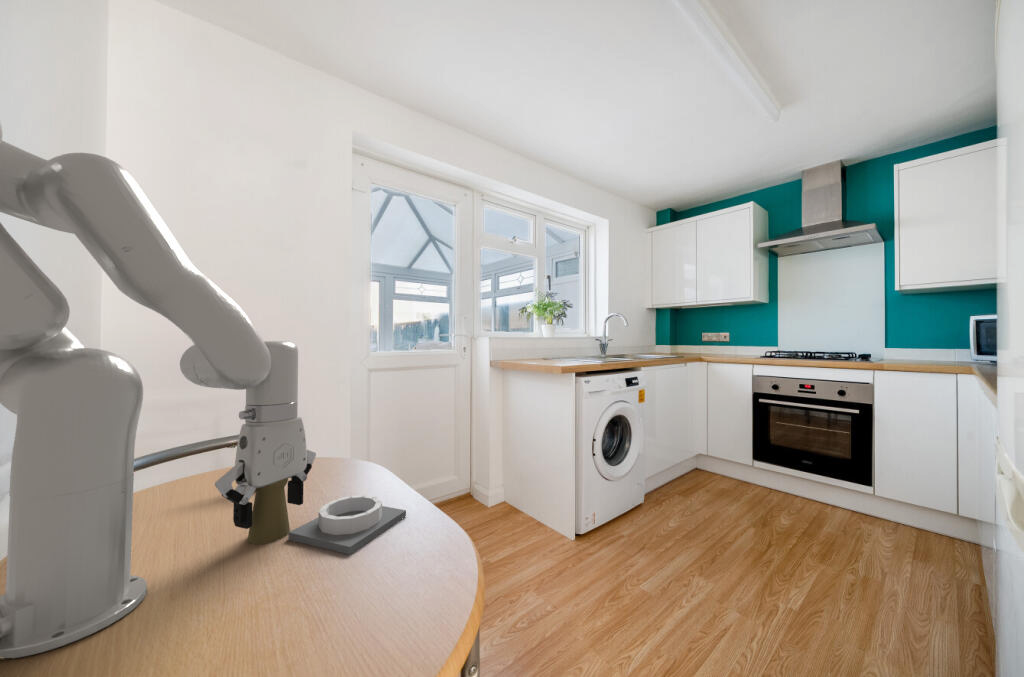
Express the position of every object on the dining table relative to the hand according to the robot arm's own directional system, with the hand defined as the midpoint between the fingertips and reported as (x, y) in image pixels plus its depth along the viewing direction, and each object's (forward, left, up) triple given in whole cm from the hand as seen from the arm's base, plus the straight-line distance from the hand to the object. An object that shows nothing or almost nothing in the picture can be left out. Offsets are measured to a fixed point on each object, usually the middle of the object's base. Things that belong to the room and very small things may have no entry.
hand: (270, 514), depth 64 cm
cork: (0, 0, -4) cm, 4 cm away
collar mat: (+7, -11, -3) cm, 13 cm away
